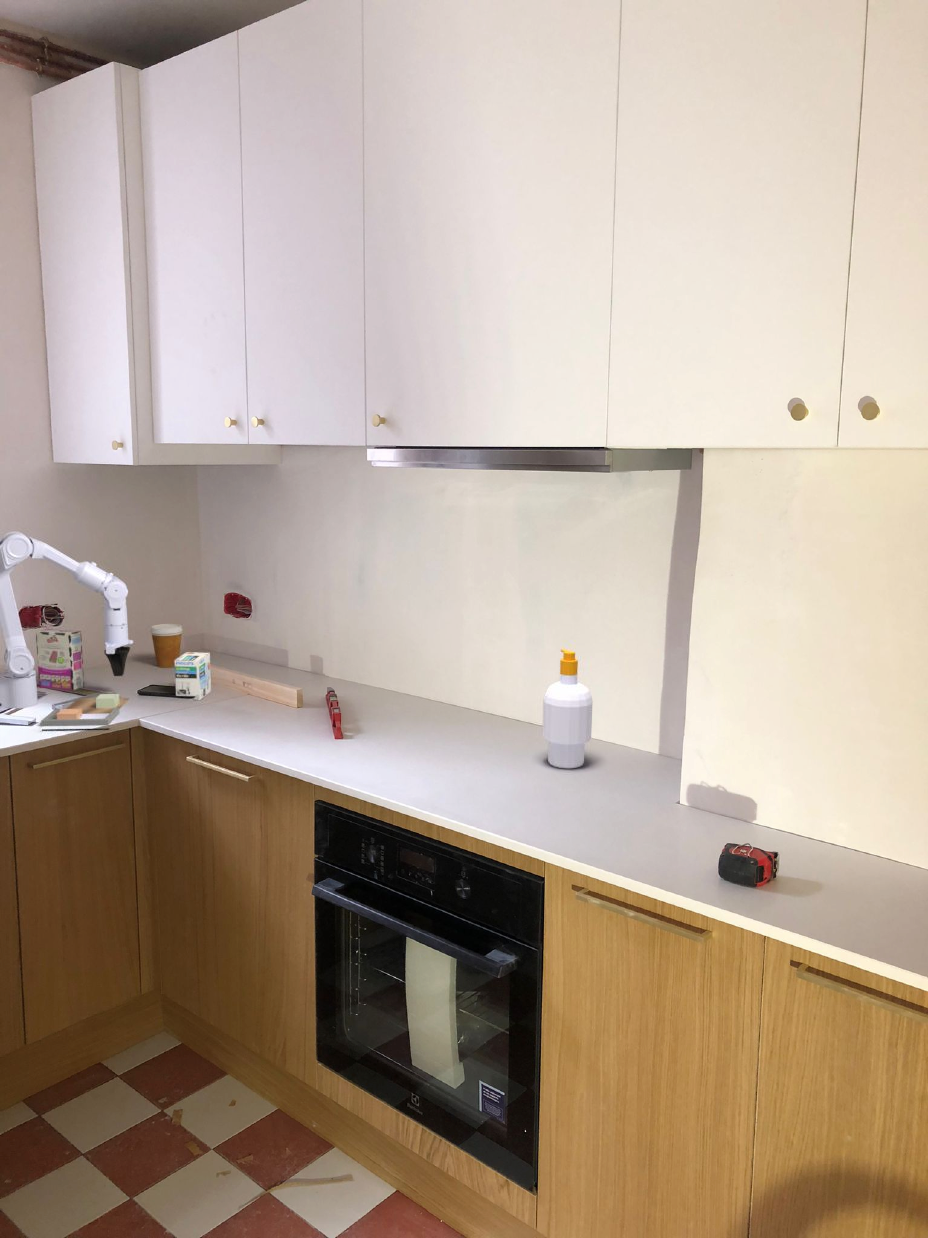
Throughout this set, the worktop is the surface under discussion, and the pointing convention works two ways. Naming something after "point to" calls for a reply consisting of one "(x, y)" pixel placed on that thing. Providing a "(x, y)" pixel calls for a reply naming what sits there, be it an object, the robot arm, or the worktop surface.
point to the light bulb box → (193, 675)
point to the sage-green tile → (107, 701)
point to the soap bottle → (567, 716)
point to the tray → (77, 721)
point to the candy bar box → (60, 659)
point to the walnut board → (94, 706)
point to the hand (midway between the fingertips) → (118, 675)
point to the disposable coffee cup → (166, 643)
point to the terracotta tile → (69, 714)
